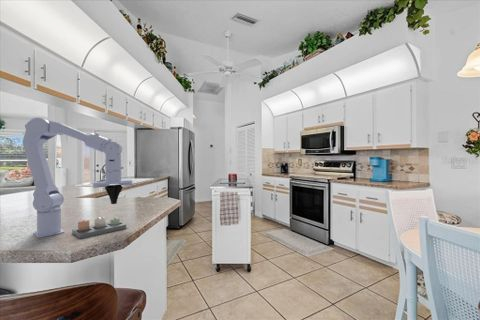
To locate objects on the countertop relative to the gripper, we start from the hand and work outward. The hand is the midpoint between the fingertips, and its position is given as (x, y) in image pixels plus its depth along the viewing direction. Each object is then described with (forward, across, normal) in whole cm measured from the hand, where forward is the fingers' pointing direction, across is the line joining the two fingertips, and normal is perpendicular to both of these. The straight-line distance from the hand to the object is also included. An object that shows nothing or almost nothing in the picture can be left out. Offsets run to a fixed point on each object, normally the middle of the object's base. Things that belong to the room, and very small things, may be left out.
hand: (113, 203), depth 95 cm
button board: (+10, -5, 0) cm, 11 cm away
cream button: (+8, -5, 0) cm, 10 cm away
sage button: (+10, 0, 0) cm, 10 cm away
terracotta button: (+8, -11, 0) cm, 14 cm away
